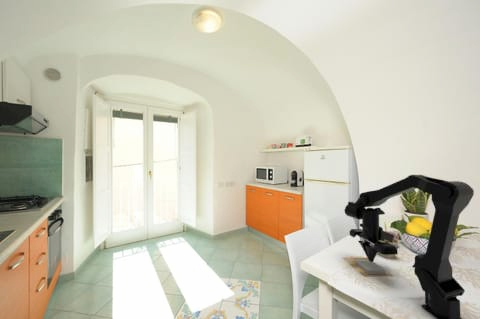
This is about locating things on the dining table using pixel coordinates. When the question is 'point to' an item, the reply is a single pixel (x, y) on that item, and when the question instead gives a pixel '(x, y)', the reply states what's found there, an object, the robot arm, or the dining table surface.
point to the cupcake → (391, 233)
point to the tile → (370, 267)
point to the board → (353, 263)
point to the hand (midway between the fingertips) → (371, 261)
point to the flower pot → (395, 243)
